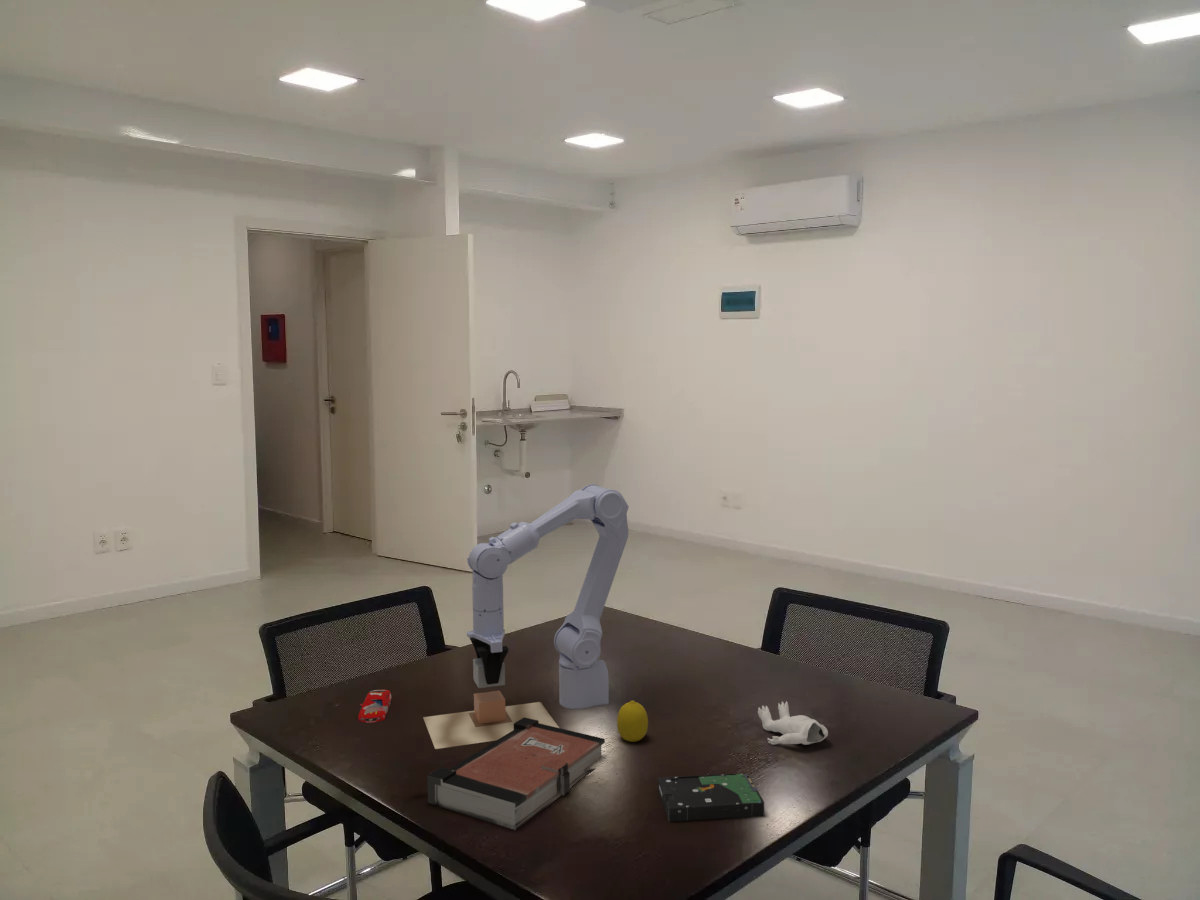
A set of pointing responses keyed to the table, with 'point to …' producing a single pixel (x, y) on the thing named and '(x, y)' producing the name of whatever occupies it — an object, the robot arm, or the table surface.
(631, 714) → the lemon
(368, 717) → the race car
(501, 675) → the grey brick
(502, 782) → the book
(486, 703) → the terracotta brick
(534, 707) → the board
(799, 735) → the toy creature
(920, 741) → the table surface
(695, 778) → the disk drive
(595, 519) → the robot arm
